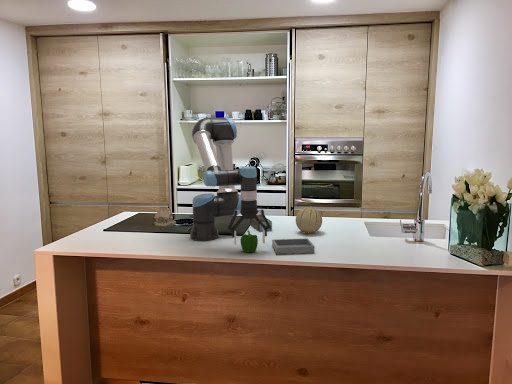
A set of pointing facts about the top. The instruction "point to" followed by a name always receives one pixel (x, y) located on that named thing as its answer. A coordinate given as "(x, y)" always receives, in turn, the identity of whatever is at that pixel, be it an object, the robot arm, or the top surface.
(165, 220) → the ceramic model
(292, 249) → the tray
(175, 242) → the top surface
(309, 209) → the cantaloupe
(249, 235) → the bell pepper
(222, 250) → the top surface
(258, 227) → the beverage carton
